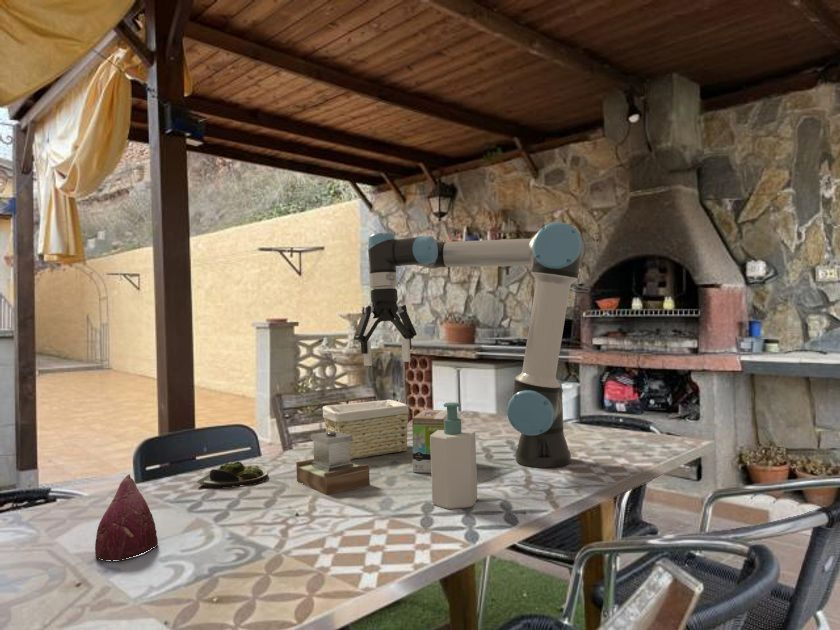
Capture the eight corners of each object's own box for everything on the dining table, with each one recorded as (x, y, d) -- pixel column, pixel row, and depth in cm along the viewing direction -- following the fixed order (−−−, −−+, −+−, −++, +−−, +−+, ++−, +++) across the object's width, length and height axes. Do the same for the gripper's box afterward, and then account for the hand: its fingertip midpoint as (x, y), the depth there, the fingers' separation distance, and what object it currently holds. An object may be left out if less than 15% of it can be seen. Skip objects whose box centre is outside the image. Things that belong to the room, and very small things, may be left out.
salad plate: (197, 474, 167) (197, 457, 167) (263, 467, 173) (263, 451, 173) (196, 493, 149) (195, 474, 149) (270, 484, 154) (269, 466, 155)
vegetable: (111, 559, 115) (107, 480, 119) (166, 549, 116) (160, 470, 120) (84, 568, 105) (80, 481, 109) (144, 556, 106) (138, 470, 109)
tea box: (449, 474, 158) (447, 417, 158) (412, 473, 160) (410, 417, 160) (457, 460, 172) (455, 408, 172) (423, 459, 174) (421, 408, 174)
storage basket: (337, 462, 174) (335, 412, 174) (322, 452, 189) (320, 405, 189) (412, 452, 184) (410, 404, 184) (392, 443, 199) (391, 398, 199)
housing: (335, 461, 158) (334, 428, 158) (353, 468, 151) (352, 433, 151) (311, 466, 154) (310, 432, 154) (328, 473, 146) (327, 437, 146)
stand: (369, 484, 149) (369, 464, 149) (326, 494, 142) (326, 473, 142) (337, 472, 162) (337, 454, 162) (296, 481, 155) (296, 462, 155)
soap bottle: (471, 494, 139) (468, 399, 139) (483, 506, 130) (480, 404, 130) (427, 498, 137) (424, 402, 137) (437, 510, 128) (434, 407, 128)
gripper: (354, 287, 159) (358, 367, 158) (426, 287, 174) (429, 360, 174) (339, 289, 164) (343, 367, 164) (409, 289, 180) (413, 359, 180)
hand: (387, 363), depth 169 cm, fingers open, 13 cm apart
